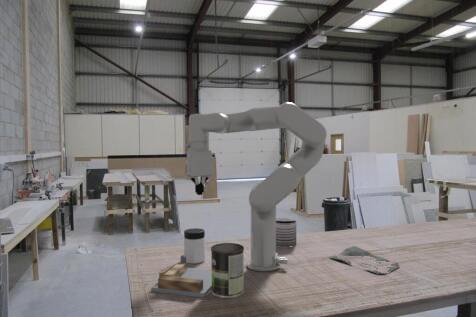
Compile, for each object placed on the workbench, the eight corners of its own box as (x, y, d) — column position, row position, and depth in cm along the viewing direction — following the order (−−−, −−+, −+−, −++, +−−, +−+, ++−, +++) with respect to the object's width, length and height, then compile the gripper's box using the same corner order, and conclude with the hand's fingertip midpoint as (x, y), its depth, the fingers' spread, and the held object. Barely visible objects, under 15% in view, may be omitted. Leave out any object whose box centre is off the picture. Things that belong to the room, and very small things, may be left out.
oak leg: (178, 271, 129) (178, 262, 129) (185, 271, 128) (185, 263, 128) (163, 283, 117) (163, 274, 117) (171, 284, 117) (171, 275, 117)
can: (268, 246, 165) (268, 220, 164) (275, 240, 175) (275, 215, 175) (293, 249, 160) (293, 221, 160) (299, 242, 171) (299, 217, 170)
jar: (189, 265, 139) (188, 234, 139) (180, 259, 146) (179, 230, 146) (209, 261, 144) (209, 231, 144) (200, 255, 151) (199, 227, 151)
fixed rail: (203, 289, 113) (203, 279, 113) (199, 292, 110) (199, 283, 110) (162, 284, 117) (162, 275, 117) (158, 288, 114) (158, 278, 114)
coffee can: (211, 299, 109) (211, 252, 108) (211, 285, 119) (210, 243, 118) (245, 297, 110) (245, 251, 109) (242, 284, 120) (242, 242, 119)
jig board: (224, 274, 129) (224, 262, 129) (204, 297, 110) (204, 283, 110) (178, 270, 134) (178, 258, 134) (151, 291, 115) (150, 278, 115)
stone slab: (407, 271, 136) (407, 265, 135) (380, 281, 127) (380, 275, 127) (354, 251, 156) (354, 245, 156) (328, 258, 147) (328, 253, 147)
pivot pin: (187, 269, 131) (187, 255, 131) (185, 271, 129) (184, 257, 129) (182, 269, 131) (182, 255, 131) (179, 271, 130) (179, 256, 129)
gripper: (181, 146, 133) (181, 196, 133) (220, 146, 137) (221, 194, 138) (177, 146, 140) (178, 194, 140) (215, 146, 145) (215, 192, 145)
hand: (199, 194), depth 139 cm, fingers closed
